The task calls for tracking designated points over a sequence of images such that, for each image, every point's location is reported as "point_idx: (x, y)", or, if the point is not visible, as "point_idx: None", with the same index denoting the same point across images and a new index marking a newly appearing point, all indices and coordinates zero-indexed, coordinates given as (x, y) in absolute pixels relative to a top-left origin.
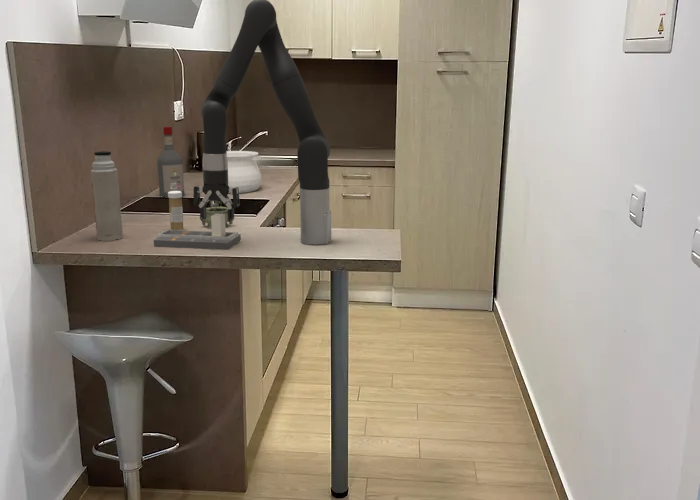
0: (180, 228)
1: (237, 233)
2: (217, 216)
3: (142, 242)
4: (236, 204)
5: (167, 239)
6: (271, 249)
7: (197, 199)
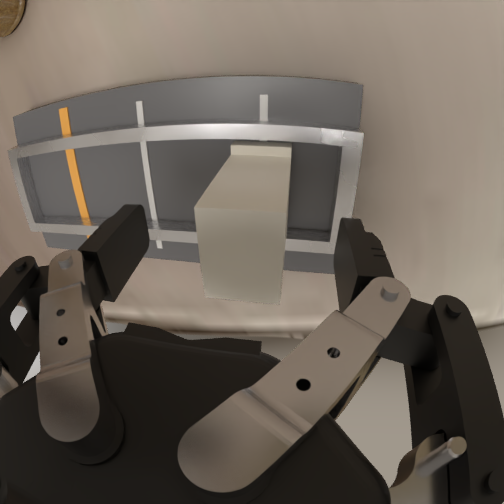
0: (13, 17)
1: (361, 142)
2: (257, 301)
3: (11, 195)
4: (431, 372)
5: (72, 235)
6: (487, 244)
7: (38, 341)
